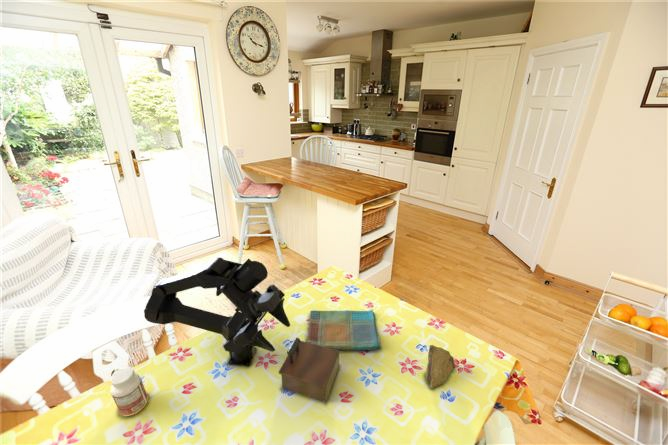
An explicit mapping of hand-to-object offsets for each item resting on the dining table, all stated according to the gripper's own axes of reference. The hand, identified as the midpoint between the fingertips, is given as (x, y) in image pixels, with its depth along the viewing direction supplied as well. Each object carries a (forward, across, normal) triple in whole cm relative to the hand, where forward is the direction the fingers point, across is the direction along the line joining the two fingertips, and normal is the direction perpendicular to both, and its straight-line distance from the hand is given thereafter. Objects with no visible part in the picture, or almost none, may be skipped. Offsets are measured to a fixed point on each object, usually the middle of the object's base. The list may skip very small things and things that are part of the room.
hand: (282, 337), depth 80 cm
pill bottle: (-14, -22, +31) cm, 40 cm away
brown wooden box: (+14, 0, +2) cm, 15 cm away
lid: (+10, 0, -1) cm, 10 cm away
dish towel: (+17, +19, 0) cm, 26 cm away
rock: (+39, +12, -23) cm, 47 cm away
